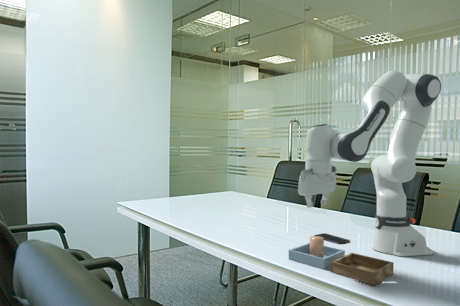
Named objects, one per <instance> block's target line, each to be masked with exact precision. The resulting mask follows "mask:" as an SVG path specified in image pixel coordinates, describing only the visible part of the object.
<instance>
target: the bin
mask: <svg viewBox="0 0 460 306" xmlns="http://www.w3.org/2000/svg"><path fill="white" fill-rule="evenodd" d="M345 252H346V250H344V249H340V248H337V247H332V246H328V245H324V258H320V257H317V256H313V255H310V242H308V243H305V244H302V245H299V246H296V247H294V248H290V249H288V260H291V261H292V262H293V261H294V262H297V263H300V264H304V265H307V266H310V267H311V266H312V267H315V268H318V269H321V270H326V269H327V268H331V262H332V261H334V260H337V259H339V258H341V257H343V256H345V255H346V254H345Z"/></svg>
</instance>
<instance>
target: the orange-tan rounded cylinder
mask: <svg viewBox="0 0 460 306" xmlns="http://www.w3.org/2000/svg"><path fill="white" fill-rule="evenodd" d="M324 242H325V240H324V238H323V237H320V236H314V235H312V236H310V237H309V243H310V255H313V256H317V257H320V258H324V246H325V243H324Z"/></svg>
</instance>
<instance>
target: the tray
mask: <svg viewBox="0 0 460 306" xmlns="http://www.w3.org/2000/svg"><path fill="white" fill-rule="evenodd" d="M394 264H395V262H393V261H389V260H384V259H381V258H376V257H372V256H367V255H363V254H359V253H355V252H350V253H347V254H345V256H343V257H341V258H339V259H337V260H334V261H332V262H331V266H330V273H333V274H336V275H340V276H343V277H346V278H349V279H353V280H355V281H358V282H357V283H360V282H361V284H364V283H365V285H367V284H369V285H368V286H370V285H372V286H371V287H374V286H375V287H377V286H378V285H380V284H381V283H383V282H382V281H384V280H385V279H386V278H388V277H392V276H394V268H395V267H394ZM379 283H380V284H379ZM376 285H377V286H376Z"/></svg>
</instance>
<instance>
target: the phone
mask: <svg viewBox="0 0 460 306" xmlns="http://www.w3.org/2000/svg"><path fill="white" fill-rule="evenodd" d="M313 236H320V237H323V238H324V242H328V243H333V244H336V245H344V244H348V243H350V242H351V239H348V238H344V237H340V236H338V235H337V236H336V235H334V234H330V233H319V234H314V235H313Z"/></svg>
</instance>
